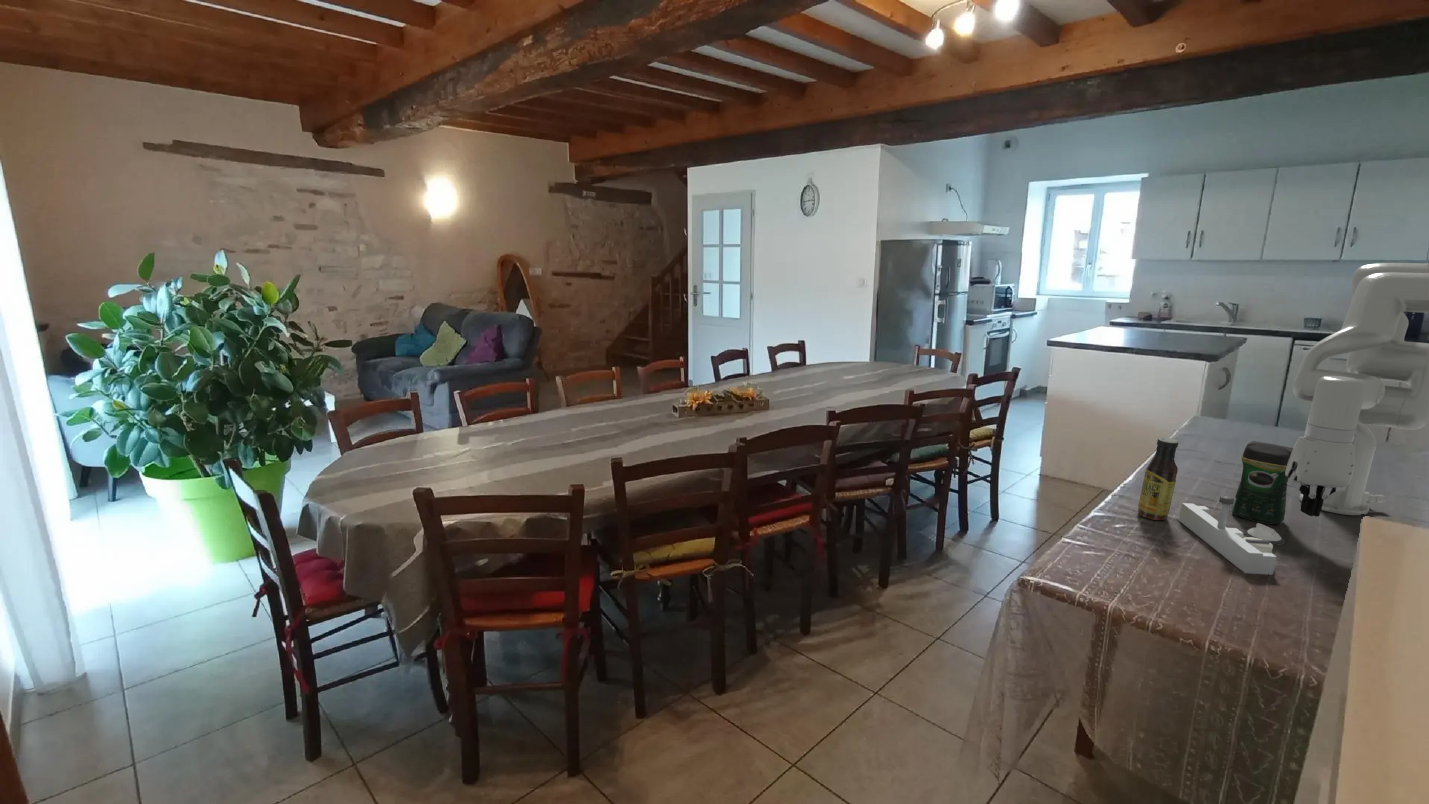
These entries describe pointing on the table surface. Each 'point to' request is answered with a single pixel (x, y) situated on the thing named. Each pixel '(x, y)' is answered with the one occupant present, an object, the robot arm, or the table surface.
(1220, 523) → the mount
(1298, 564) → the table surface
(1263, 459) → the coffee jar
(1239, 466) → the table surface
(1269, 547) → the knob slider
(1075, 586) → the table surface
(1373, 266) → the robot arm
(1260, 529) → the stove knob
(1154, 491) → the sauce bottle
